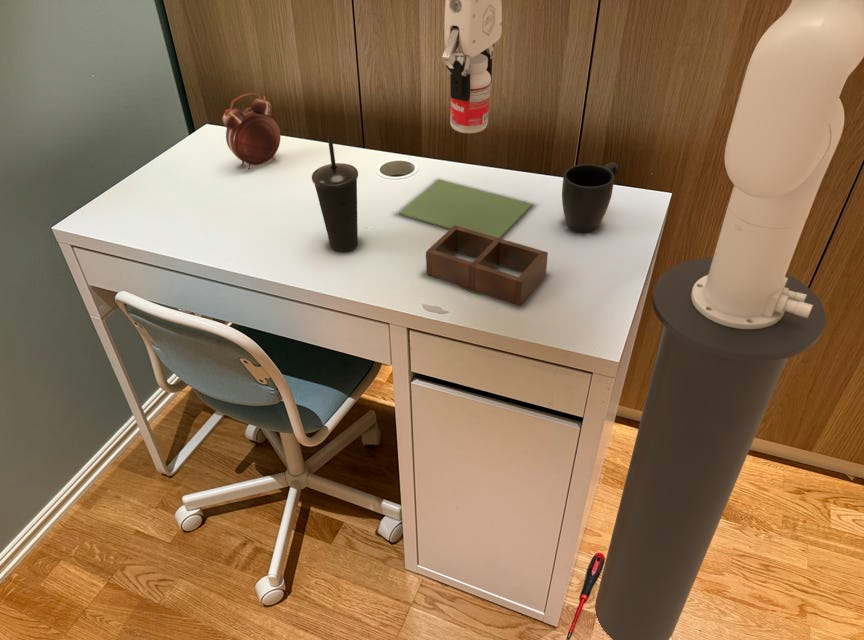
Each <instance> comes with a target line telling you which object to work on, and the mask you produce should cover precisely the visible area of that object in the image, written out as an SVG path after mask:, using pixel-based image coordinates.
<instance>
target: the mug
mask: <svg viewBox="0 0 864 640" xmlns="http://www.w3.org/2000/svg"><path fill="white" fill-rule="evenodd" d="M618 169H619V166H618V164H617V163H616V162H608V163H607V164H604V166H602V165H599V164H591V163H585V164H577V165H573V166H571V167H569V168H566V170H565V171H564V173H563V177H562V187H561V203H562V209H563V215H564V220H565V225H566V227H567V229H568V230H569V231H571V232H574V233H578V234H591V233H594V232H596V231H597V230H598V229H599V227H600V224H601V222H602V221H603V218H604V217H605V214H606V213H607V211H608V208H609V206H610V203H611V200H612V195H613V190H614V183H615V180H616V177H617V175H618Z"/></svg>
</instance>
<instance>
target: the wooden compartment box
mask: <svg viewBox="0 0 864 640" xmlns="http://www.w3.org/2000/svg"><path fill="white" fill-rule="evenodd" d="M456 253H459V254H462V255H465V256H468V257H472V258H475V259H474V260H473V262H472V261H469V260H467V259H464V258H460V257H456V256H454V255H455V254H456ZM548 256H549V252H548V251H544V250H541V249H538V248H535V247H530V246H527V245H524V244H520V243H517V242H514V241H511V240H507V239H504V238H497V237H494V236H490V235H487V234H483V233H480V232H476V231H473V230H470V229H466V228H463V227H459V226H456V225H454V226H453V227H452V228H451V229H448V230H447V232H445V233H444V234H443V235H441V237H439V239H438V240H437V241H435V242H434V244H432V245H431V246H430V247H429V248H428V249H427V250H426V251H425V263H426V264H425V265H426V275H428V276H430V277H433V278H436V279H439V280H442V281H446V282H448V283H452V284H455V285H458V286H460V287H463V288H467V289H469V290H472V291H474V292H478V293H481V294H484V295H487V296H489V297H493V298H496V299H499V300H502V301H505V302H508V303H511V304H514V305H517V306H522V304H523V303H524V302H525V301H526V299H528V297H529V296H530V295H531V294H532V292H533V291H534V290H535V289H536V288H537V287H538V286H539V284H540V283H541V282H542V281H543V280H544V278H546V276H547V269H548V267H547V266H548V258H549V257H548ZM498 266H501V267H504V268H508V269H510V270H514V271H517V272H520V273H521V274H520V275H519V276H517V275H514V274H511V273H507V272H504V271H501V270H498V269H496V268H497V267H498Z"/></svg>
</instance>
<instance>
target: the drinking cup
mask: <svg viewBox="0 0 864 640" xmlns="http://www.w3.org/2000/svg"><path fill="white" fill-rule="evenodd" d="M327 140H328V141H327V142H328V150H329V156H330V157H329V158H330V163H329V164H325V165H323V166H320V167H318V168H316V169H315V170H314V171H313V172H312V174H311V181H312V183H313V184H314V187H315V190H316V191H315V192H316V196H317V199H318V203H319V206H320V211H321V215H322V219H323V223H324V226H325V230H326V234H327V238H328V242H329V245H330V249H331V250H332V251H334V252H337V253H348V252H351V251H353V250H355V249H356V248H357V246H358V244H359V240H358V239H359V237H358V233H359V231H358V230H359V229H358V227H359V226H358V178H359V171H358V169H357V168H356V167H355V166H354V165H351V164H348V163H342V162H340V163H339V162H338V163H337V162H336V158H335V149H334V142H333V136H328V137H327Z"/></svg>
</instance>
